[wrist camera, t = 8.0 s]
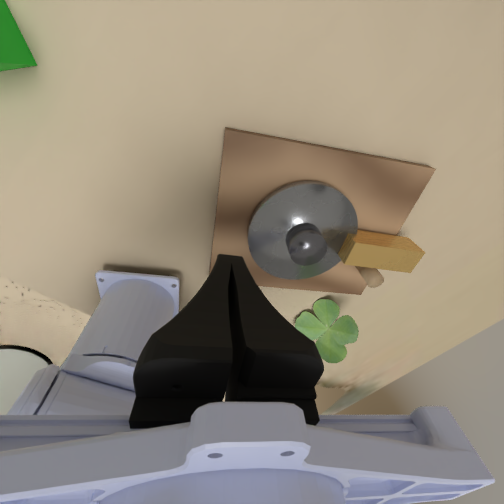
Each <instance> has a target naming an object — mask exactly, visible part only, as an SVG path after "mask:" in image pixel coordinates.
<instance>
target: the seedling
mask: <svg viewBox="0 0 504 504" xmlns="http://www.w3.org/2000/svg"><path fill="white" fill-rule="evenodd" d="M339 310H340V309H339V307H338V305H337V304H336V303H335V302H333V301H332V300H329V299H327V300H325V299H320V300H318V301H316V302H315V304H314V306H313V311H314V313H315V315H316V316H317V318H318V319H319V320H320V321H321V322H322V323H321V322H320V321H319V320H318V319H317V318H316V317H315V316H314V315H312V314H311V313H309V312H306V311H305V312H302V313H301V315H300V317H298V318H297V319H296V323H295V328H296V329H297V330H299V331H300V332H301V333H303V334H304V335H305V336H307V337H308V338H309V339H311V340H315V339H318V338H319V339H318V340H317V341H316V344H315V345H316V347H317V349H318V351H319V354H320V356H321V358H322V359H323V360H325V361H326V362H328V363H338V362H340V361H342V360H343V359H344V358H345V357H346V354H347V351H346V347H345V346H344V345H345V344H348V343H354V342H355V341H356V340H357V337H358V332H359V331H358V327H357V324H356V323H355V321H354V320H353V318H352V317H350V316H349V315H345V316H342V317H341V318H339V319H338V320H337V321H336V322H335V323H334V324H333V322H334V321H335V320H336V318H337V317H338V315H339ZM332 324H333V325H332ZM331 325H332V326H331Z"/></svg>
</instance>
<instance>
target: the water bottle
mask: <svg viewBox="0 0 504 504" xmlns="http://www.w3.org/2000/svg"><path fill="white" fill-rule="evenodd" d="M51 364H53V362H52V361H51V360H50V359H49V358H48V357H47V356H46V355H44V354H43V353H41V352H39V351H37V350H34V349H31V348H28V347H24V346H18V345H0V415H7V413H8V412H9V410H10V409H11V407H12V406H13V404H14V403H15V401H16V400H17V399H18V397H19V396H20V394H21V393H22V391H23V390H24V388H25V387H26V386H27V384H28V383H29V381H30V380H31V378H32V377H33V376H34V374H35V373H36V372H37V371H38V370H41V369H43V368H47V367H48V366H49V365H51Z"/></svg>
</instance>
